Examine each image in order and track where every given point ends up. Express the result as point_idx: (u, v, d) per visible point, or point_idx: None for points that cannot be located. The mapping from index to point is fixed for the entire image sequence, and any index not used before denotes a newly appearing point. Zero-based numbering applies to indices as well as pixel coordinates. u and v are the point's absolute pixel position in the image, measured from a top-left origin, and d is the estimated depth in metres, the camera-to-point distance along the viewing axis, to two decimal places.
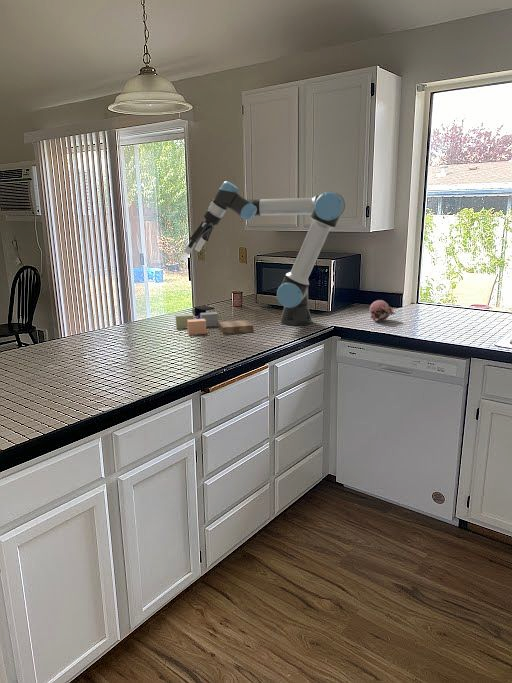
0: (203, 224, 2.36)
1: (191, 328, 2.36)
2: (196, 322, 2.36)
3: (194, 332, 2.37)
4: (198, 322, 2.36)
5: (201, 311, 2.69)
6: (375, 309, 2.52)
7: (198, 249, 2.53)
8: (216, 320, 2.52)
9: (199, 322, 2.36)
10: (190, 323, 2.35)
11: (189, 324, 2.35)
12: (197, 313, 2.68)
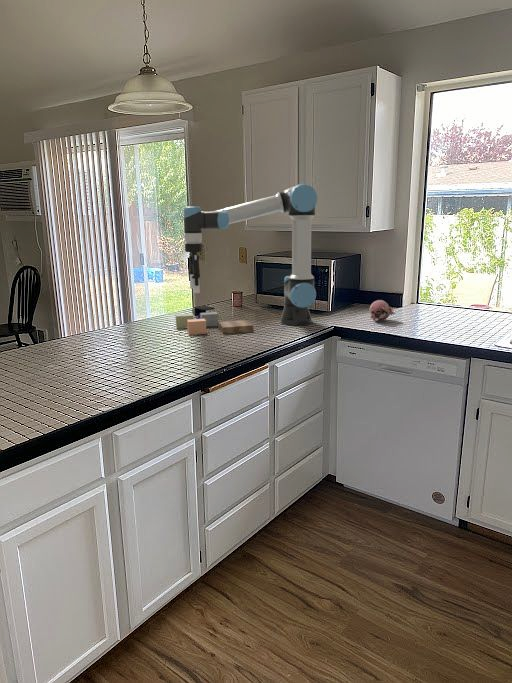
0: (195, 257, 2.25)
1: (191, 328, 2.36)
2: (196, 322, 2.36)
3: (194, 332, 2.37)
4: (198, 322, 2.36)
5: (201, 311, 2.69)
6: (375, 309, 2.52)
7: None
8: (216, 320, 2.52)
9: (199, 322, 2.36)
10: (190, 323, 2.35)
11: (189, 324, 2.35)
12: (197, 313, 2.68)
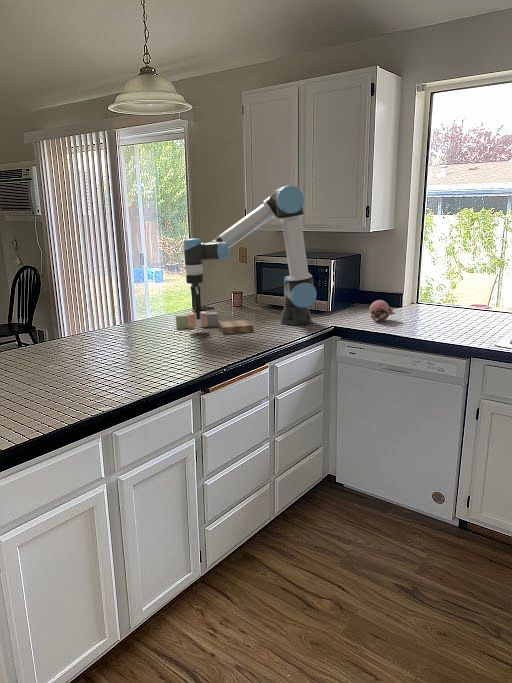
0: (197, 292, 2.29)
1: (192, 320, 2.35)
2: None
3: (195, 325, 2.36)
4: None
5: None
6: (375, 309, 2.52)
7: None
8: (216, 320, 2.52)
9: None
10: (191, 316, 2.35)
11: (190, 317, 2.35)
12: None
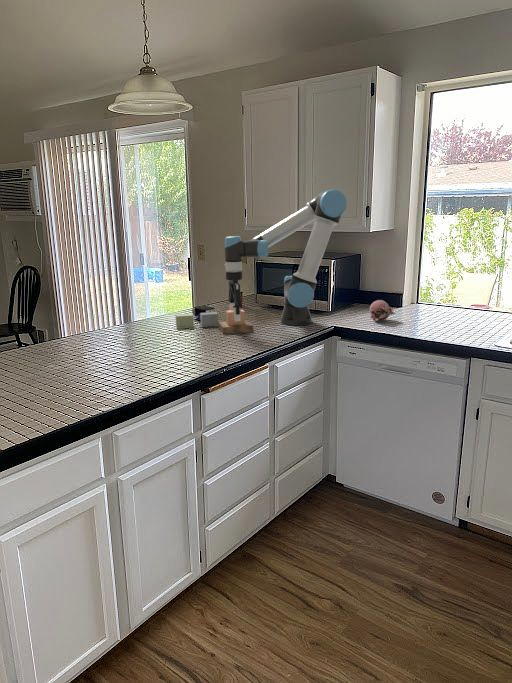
0: (237, 286, 2.32)
1: (230, 318, 2.39)
2: None
3: (233, 322, 2.40)
4: None
5: (201, 311, 2.69)
6: (375, 309, 2.52)
7: None
8: (216, 320, 2.52)
9: None
10: (229, 314, 2.39)
11: (228, 315, 2.39)
12: (197, 313, 2.68)
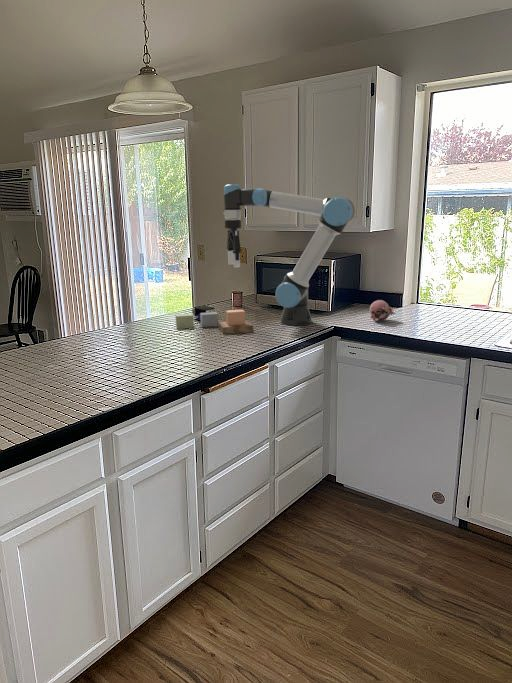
0: (236, 232, 2.35)
1: (230, 318, 2.39)
2: (235, 313, 2.39)
3: (233, 322, 2.40)
4: (237, 313, 2.40)
5: (201, 311, 2.69)
6: (375, 309, 2.52)
7: (232, 262, 2.51)
8: (216, 320, 2.52)
9: (238, 313, 2.40)
10: (229, 314, 2.39)
11: (228, 315, 2.39)
12: (197, 313, 2.68)
